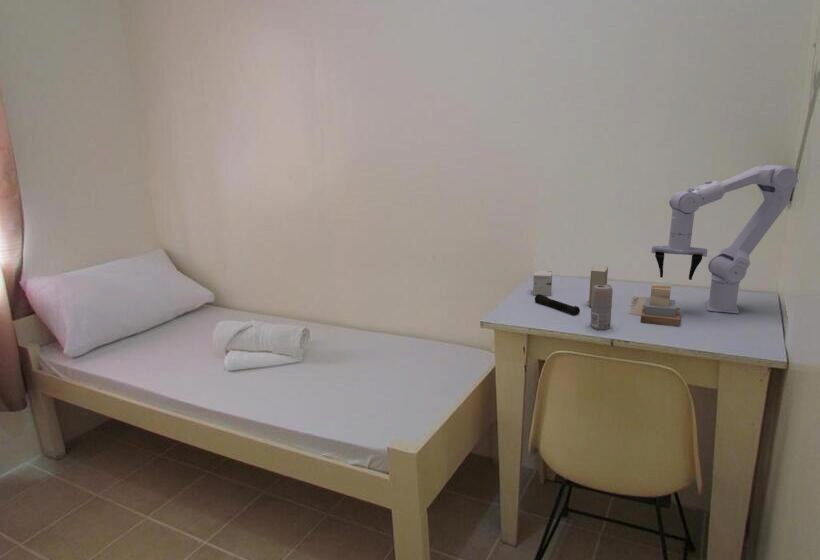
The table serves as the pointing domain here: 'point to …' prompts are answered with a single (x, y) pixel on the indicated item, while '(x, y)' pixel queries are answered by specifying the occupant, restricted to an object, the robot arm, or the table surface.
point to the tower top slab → (660, 309)
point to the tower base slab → (661, 318)
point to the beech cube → (660, 295)
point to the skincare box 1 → (542, 283)
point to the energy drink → (601, 306)
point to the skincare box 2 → (597, 278)
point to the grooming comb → (637, 305)
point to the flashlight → (557, 304)
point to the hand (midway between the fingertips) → (675, 277)
